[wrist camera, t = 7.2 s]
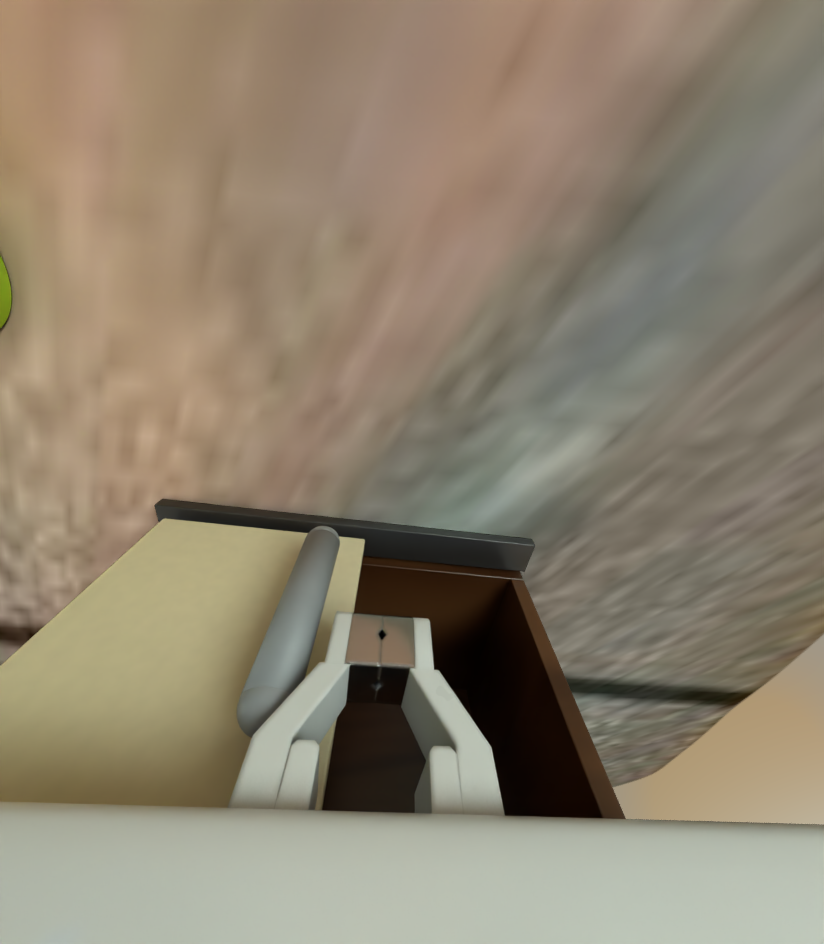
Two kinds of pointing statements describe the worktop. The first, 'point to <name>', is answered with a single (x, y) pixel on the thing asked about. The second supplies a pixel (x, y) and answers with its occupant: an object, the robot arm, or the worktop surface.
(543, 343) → the worktop surface
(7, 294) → the soap dispenser
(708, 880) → the robot arm
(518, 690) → the cupboard
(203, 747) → the sliding door
